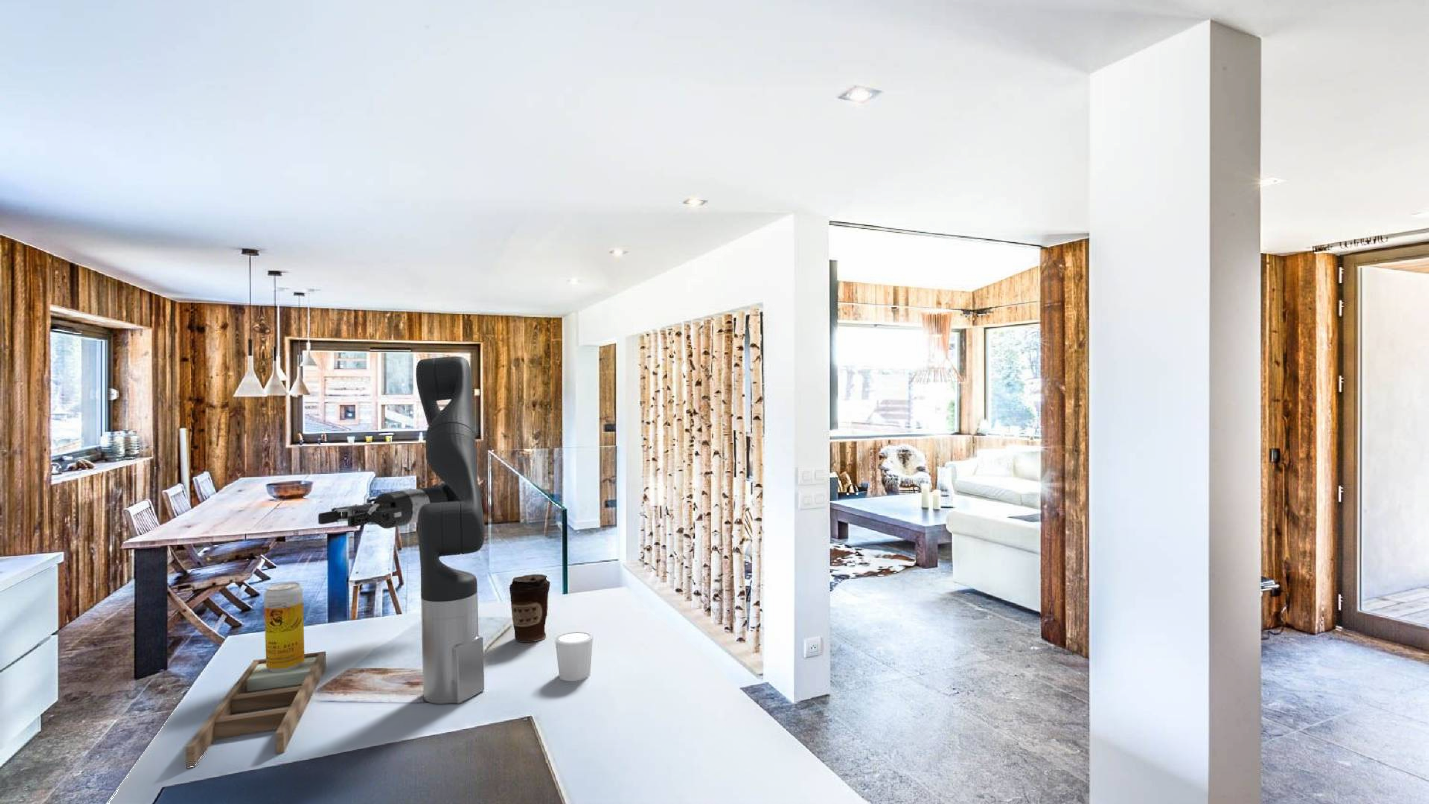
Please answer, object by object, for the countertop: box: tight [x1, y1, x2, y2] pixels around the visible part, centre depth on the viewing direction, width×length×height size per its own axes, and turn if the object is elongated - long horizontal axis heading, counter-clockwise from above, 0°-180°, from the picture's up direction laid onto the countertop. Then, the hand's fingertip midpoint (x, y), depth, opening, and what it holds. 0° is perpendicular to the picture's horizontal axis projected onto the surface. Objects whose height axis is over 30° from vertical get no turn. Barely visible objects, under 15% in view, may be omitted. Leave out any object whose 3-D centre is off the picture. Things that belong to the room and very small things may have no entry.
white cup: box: [554, 631, 594, 682], centre depth 132 cm, size 7×7×7 cm
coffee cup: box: [509, 573, 551, 643], centre depth 153 cm, size 9×8×13 cm
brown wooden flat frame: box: [185, 650, 327, 767], centre depth 120 cm, size 36×12×3 cm, turn 20°
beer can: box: [263, 581, 305, 672], centre depth 133 cm, size 6×6×15 cm
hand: (333, 520), depth 141 cm, fingers open, 8 cm apart
